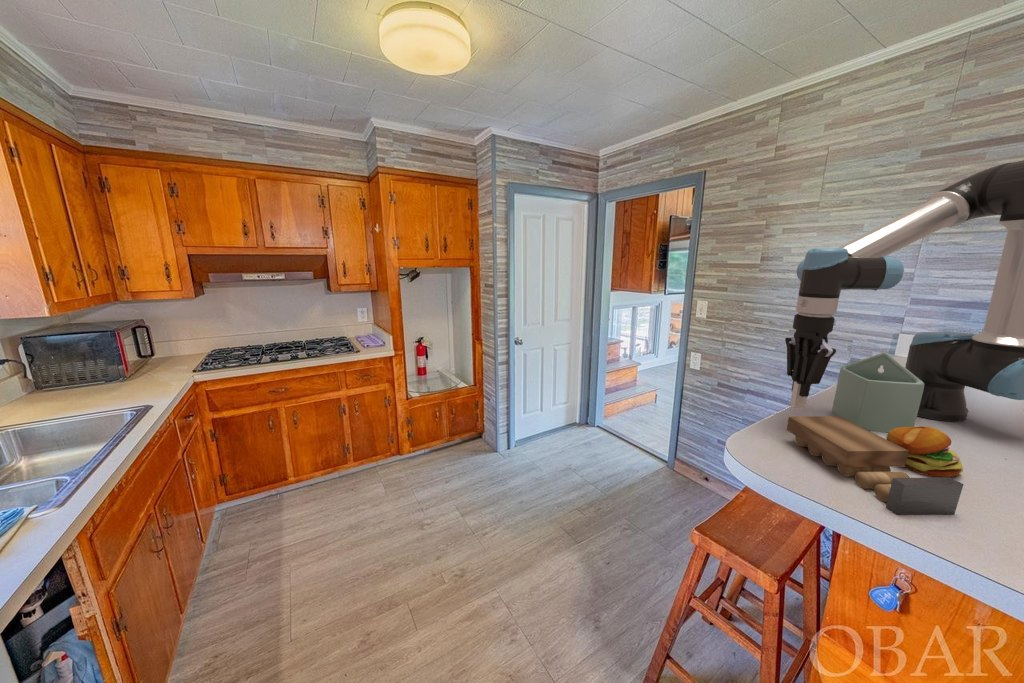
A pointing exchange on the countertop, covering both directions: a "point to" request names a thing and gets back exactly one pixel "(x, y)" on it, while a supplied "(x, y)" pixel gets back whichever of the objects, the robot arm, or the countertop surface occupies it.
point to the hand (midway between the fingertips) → (797, 406)
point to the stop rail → (924, 496)
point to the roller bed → (863, 473)
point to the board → (847, 442)
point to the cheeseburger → (927, 451)
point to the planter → (878, 394)
